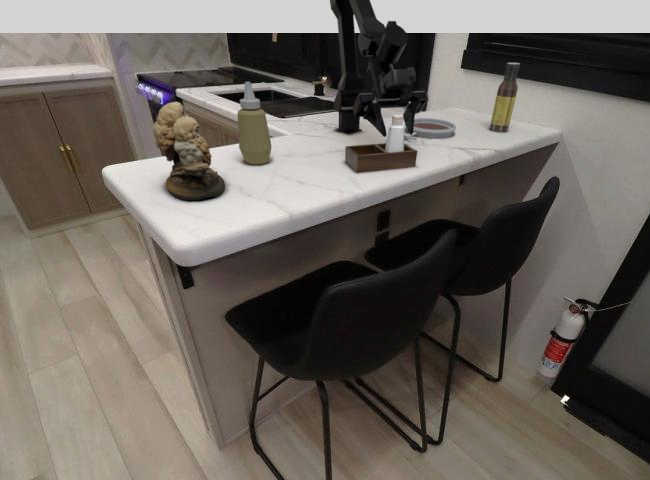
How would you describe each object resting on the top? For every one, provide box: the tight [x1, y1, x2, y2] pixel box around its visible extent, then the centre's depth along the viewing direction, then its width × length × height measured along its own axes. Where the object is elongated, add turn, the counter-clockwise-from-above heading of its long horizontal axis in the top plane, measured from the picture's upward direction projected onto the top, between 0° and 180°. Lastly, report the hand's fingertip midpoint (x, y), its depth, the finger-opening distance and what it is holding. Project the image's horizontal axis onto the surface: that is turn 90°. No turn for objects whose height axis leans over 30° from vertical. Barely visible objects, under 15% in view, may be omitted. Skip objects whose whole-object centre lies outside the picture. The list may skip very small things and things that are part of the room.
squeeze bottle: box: [237, 81, 272, 165], centre depth 92 cm, size 8×8×18 cm
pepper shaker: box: [385, 113, 405, 153], centre depth 96 cm, size 5×5×11 cm
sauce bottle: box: [489, 62, 521, 133], centre depth 125 cm, size 6×6×20 cm
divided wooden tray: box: [344, 142, 418, 174], centre depth 98 cm, size 9×16×4 cm, turn 111°
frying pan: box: [404, 117, 457, 141], centre depth 122 cm, size 17×3×28 cm
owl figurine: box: [152, 101, 226, 201], centre depth 78 cm, size 18×12×17 cm, turn 34°
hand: (398, 135), depth 94 cm, fingers open, 7 cm apart
